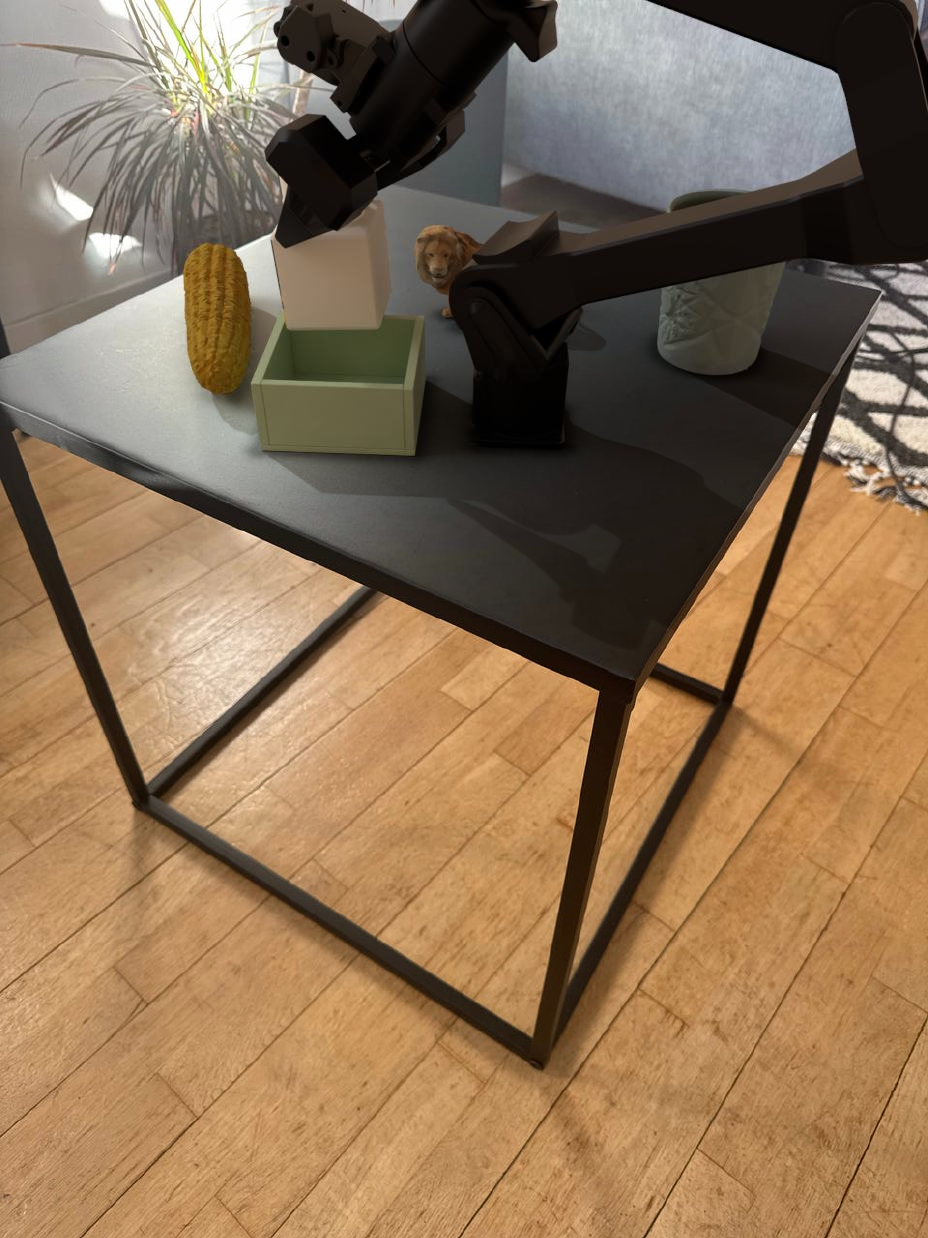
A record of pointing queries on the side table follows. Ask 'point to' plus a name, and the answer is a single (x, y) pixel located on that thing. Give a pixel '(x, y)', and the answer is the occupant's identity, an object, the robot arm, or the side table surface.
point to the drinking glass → (716, 310)
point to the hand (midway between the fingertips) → (311, 221)
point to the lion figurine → (443, 257)
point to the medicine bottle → (336, 275)
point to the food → (217, 317)
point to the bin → (342, 388)
